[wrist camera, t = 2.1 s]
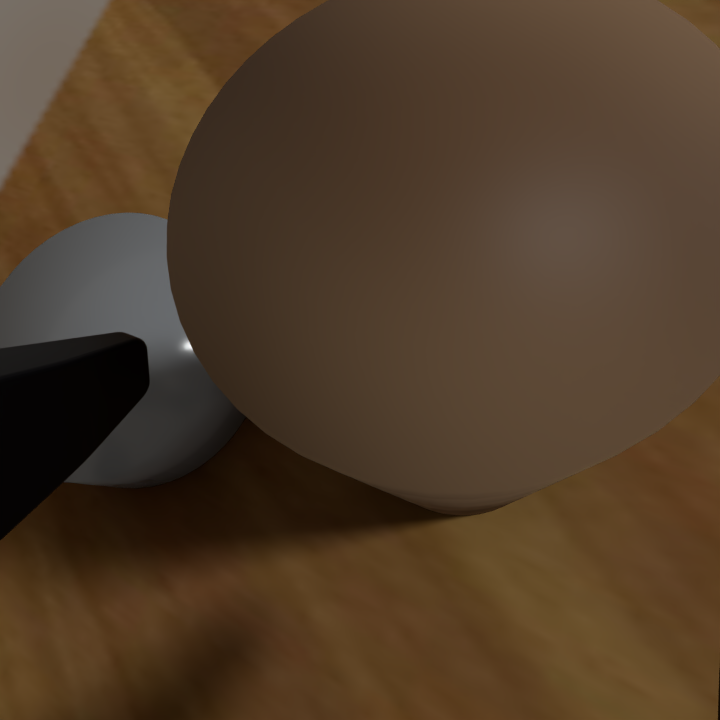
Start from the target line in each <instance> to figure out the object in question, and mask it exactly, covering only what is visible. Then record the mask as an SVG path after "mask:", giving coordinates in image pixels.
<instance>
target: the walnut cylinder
mask: <svg viewBox="0 0 720 720" xmlns="http://www.w3.org/2000/svg"><path fill="white" fill-rule="evenodd" d="M167 265H168V272H169V280H170V287H171V292H172V295H173V299H174V302H175V306H176V309H177V313H178V316H179V320H180V323H181V325H182V327H183V329H184V331H185V334H186V336H187V338H188V340H189V342H190V345H191V347H192V349H193V351H194V353H195V355H196V356H197V358H198V359H199V361H200V362H201V364H202V365H203V367H204V368H205V370H206V372H207V373H208V375H209V376H210V378H211V379H212V381H213V382H214V383H215V384H216V386H217V387H218V388H219V389H220V390H221V391H222V392H223V394H224V395H225V396H226V397H227V398H228V399H229V400H230V402H231V403H232V404H233V405H234V406H235V407H236V408H237V409H238V410H239V411H240V412H241V413H242V414H244V415H245V416H246V417H247V418H248V419H249V420H251V421H252V422H253V423H254V424H255V425H257V426H258V427H259V428H260V429H261V430H262V431H264V432H265V433H266V434H267V435H269V436H271V437H272V438H274V439H275V440H277V441H279V442H280V443H282V444H283V445H285V446H286V447H288V448H290V449H291V450H293V451H294V452H296V453H298V454H299V455H301V456H303V457H305V458H308V459H310V460H312V461H314V462H317V463H319V464H321V465H323V466H326V467H328V468H330V469H332V470H335V471H337V472H339V473H341V474H344V475H346V476H349V477H351V478H353V479H356V480H358V481H361V482H363V483H365V484H368V485H370V486H373V487H375V488H377V489H380V490H382V491H385V492H387V493H389V494H392V495H394V496H397V497H399V498H401V499H404V500H406V501H408V502H411V503H413V504H416V505H418V506H420V507H423V508H425V509H428V510H431V511H434V512H438V513H442V514H448V515H463V516H467V515H476V514H482V513H486V512H490V511H493V510H495V509H498V508H500V507H503V506H505V505H507V504H510V503H512V502H514V501H516V500H518V499H521V498H523V497H525V496H527V495H529V494H532V493H534V492H536V491H538V490H541V489H543V488H545V487H547V486H549V485H552V484H554V483H556V482H558V481H560V480H563V479H565V478H567V477H569V476H572V475H574V474H576V473H578V472H580V471H583V470H585V469H587V468H589V467H591V466H594V465H596V464H598V463H600V462H603V461H605V460H607V459H609V458H611V457H614V456H616V455H617V454H619V453H621V452H623V451H624V450H626V449H628V448H630V447H631V446H633V445H635V444H636V443H638V442H640V441H642V440H643V439H645V438H647V437H648V436H650V435H652V434H654V433H655V432H657V431H658V430H660V429H661V428H662V427H664V426H665V425H666V424H667V423H669V422H670V421H671V420H672V419H674V418H675V417H676V416H677V415H679V414H680V413H681V412H682V411H684V410H685V409H686V408H688V407H689V406H690V405H691V404H693V403H694V402H695V401H696V400H697V399H698V398H699V397H700V396H701V395H702V394H703V393H704V391H705V390H706V389H707V388H708V387H709V386H710V385H711V384H712V383H713V382H714V381H715V380H716V379H717V378H718V377H719V375H720V49H719V48H718V46H717V45H716V44H715V43H714V42H712V41H711V40H710V39H709V38H708V37H707V36H705V35H704V34H703V33H702V32H701V31H700V30H699V29H697V28H696V27H695V26H694V25H693V24H692V23H690V22H689V21H688V20H687V19H685V18H684V17H682V16H680V15H679V14H677V13H676V12H674V11H673V10H671V9H670V8H668V7H667V6H665V5H664V4H662V3H661V2H659V1H657V0H329V1H326V2H325V3H323V4H321V5H320V6H318V7H316V8H314V9H313V10H311V11H309V12H308V13H306V14H304V15H303V16H301V17H299V18H298V19H296V20H295V21H294V22H292V23H291V24H289V25H288V26H287V27H285V28H284V29H283V30H281V31H280V32H279V33H277V34H276V35H274V36H273V37H272V38H271V39H269V40H268V41H267V42H266V43H265V44H264V45H263V46H262V47H261V48H259V49H258V50H257V51H256V52H255V53H254V54H253V55H252V56H251V57H249V58H248V59H247V60H246V61H245V62H244V64H243V65H242V66H241V67H240V68H239V69H238V70H237V71H236V72H235V74H234V75H233V76H232V77H231V78H230V79H229V80H228V81H227V82H226V84H225V85H224V86H223V88H222V89H221V90H220V92H219V93H218V95H217V96H216V97H215V99H214V100H213V102H212V103H211V104H210V106H209V107H208V108H207V110H206V112H205V114H204V115H203V117H202V119H201V121H200V122H199V124H198V126H197V128H196V129H195V131H194V133H193V135H192V137H191V139H190V142H189V144H188V146H187V149H186V151H185V153H184V156H183V158H182V161H181V163H180V166H179V169H178V173H177V176H176V180H175V183H174V187H173V191H172V194H171V200H170V207H169V214H168V221H167Z"/></svg>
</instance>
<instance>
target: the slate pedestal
mask: <svg viewBox="0 0 720 720" xmlns="http://www.w3.org/2000/svg"><path fill="white" fill-rule="evenodd" d="M167 221H168V220H166V219H163V218H160V217H157V216H153V215H147V214H142V213H118V214H109V215H104V216H99V217H95V218H92V219H89V220H86V221H83V222H80V223H78V224H75V225H73V226H71V227H69V228H67V229H65V230H63V231H61V232H59V233H58V234H56V235H54V236H53V237H51V238H49V239H48V240H47V241H45V242H44V243H43V244H41V245H40V246H39V247H37V248H36V249H35V250H34V251H33V252H31V253H30V254H29V255H28V256H27V257H26V258H25V259H24V260H23V261H22V262H21V263H20V264H19V265H18V266H17V267H16V268H15V269H14V270H13V272H12V273H11V274H10V275H9V277H8V278H7V279H6V280H5V282H4V283H3V284H2V286H1V287H0V348H6V347H13V346H20V345H28V344H35V343H42V342H49V341H56V340H63V339H70V338H78V337H85V336H92V335H99V334H106V333H113V332H125V333H128V334H130V335H133V336H135V337H138V338H140V339H142V340H143V341H144V342H145V344H146V346H147V351H148V363H149V374H150V384H149V388H148V391H147V392H146V394H145V395H144V397H143V398H142V399H141V400H140V401H139V402H138V403H137V405H136V406H135V407H134V408H133V409H132V410H131V411H130V412H129V413H128V415H127V416H126V417H125V418H124V419H123V420H122V421H121V422H120V424H119V425H118V426H117V427H116V428H115V429H114V430H113V431H112V432H111V434H110V435H109V436H108V437H107V438H106V439H105V440H104V441H103V443H102V444H101V445H100V446H99V447H98V448H97V449H96V450H95V451H94V452H93V454H92V455H91V456H90V457H89V458H88V459H87V460H86V461H85V462H84V463H83V464H82V465H81V466H80V467H79V468H78V469H77V470H76V471H75V472H74V473H73V474H72V475H71V476H69V477H68V478H67V479H66V480H65V481H64V482H70V483H79V484H88V485H98V486H107V487H116V488H145V487H152V486H157V485H160V484H164V483H168V482H171V481H173V480H175V479H178V478H180V477H182V476H185V475H187V474H188V473H190V472H192V471H193V470H195V469H197V468H198V467H200V466H201V465H203V464H204V463H205V462H207V461H208V460H209V459H211V458H212V457H213V456H214V455H215V454H216V453H217V452H218V451H219V450H221V449H222V448H223V447H224V446H225V445H226V444H227V442H228V441H229V440H230V439H231V437H232V436H233V435H234V434H235V433H236V431H237V430H238V428H239V427H240V425H241V424H242V422H243V421H244V419H245V417H246V416H245V415H244V414H242V413H241V412H240V411H239V410H238V409H237V408H236V407H235V406H234V405H233V404H232V403H231V402H230V400H229V399H228V398H227V397H226V396H225V395H224V394H223V392H222V391H221V390H220V389H219V388H218V387H217V386H216V384H215V383H214V382H213V381H212V379H211V378H210V376H209V375H208V373H207V372H206V370H205V368H204V367H203V365H202V364H201V362H200V361H199V359H198V358H197V356H196V355H195V353H194V351H193V349H192V347H191V345H190V342H189V340H188V338H187V336H186V334H185V331H184V329H183V327H182V325H181V323H180V320H179V316H178V313H177V309H176V306H175V302H174V299H173V295H172V292H171V287H170V280H169V272H168V265H167Z"/></svg>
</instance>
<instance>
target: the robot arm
mask: <svg viewBox="0 0 720 720" xmlns="http://www.w3.org/2000/svg"><path fill="white" fill-rule="evenodd" d="M149 384H150V374H149V363H148V351H147V346H146V344H145V342H144V341H143V340H142V339H140V338H138V337H135V336H133V335H130V334H128V333H125V332H113V333H106V334H99V335H92V336H85V337H78V338H70V339H63V340H56V341H49V342H42V343H35V344H28V345H20V346H13V347H6V348H0V540H1V539H2V538H4V537H5V536H6V535H7V534H8V533H9V532H10V531H11V530H12V529H13V528H14V527H15V526H17V525H18V524H19V523H20V522H21V521H22V520H23V519H24V518H25V517H26V516H27V515H28V514H29V513H31V512H32V511H33V510H34V509H35V508H36V507H37V506H38V505H39V504H40V503H41V502H42V501H44V500H45V499H46V498H47V497H48V496H49V495H50V494H51V493H52V492H53V491H54V490H55V489H57V488H58V487H59V486H60V485H61V484H62V483H63V482H64V481H65V480H66V479H67V478H68V477H69V476H71V475H72V474H73V473H74V472H75V471H76V470H77V469H78V468H79V467H80V466H81V465H82V464H83V463H84V462H85V461H86V460H87V459H88V458H89V457H90V456H91V455H92V454H93V452H94V451H95V450H96V449H97V448H98V447H99V446H100V445H101V444H102V443H103V441H104V440H105V439H106V438H107V437H108V436H109V435H110V434H111V432H112V431H113V430H114V429H115V428H116V427H117V426H118V425H119V424H120V422H121V421H122V420H123V419H124V418H125V417H126V416H127V415H128V413H129V412H130V411H131V410H132V409H133V408H134V407H135V406H136V405H137V403H138V402H139V401H140V400H141V399H142V398H143V397H144V395H145V394H146V392H147V391H148V388H149ZM718 720H720V670H719V700H718Z"/></svg>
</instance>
